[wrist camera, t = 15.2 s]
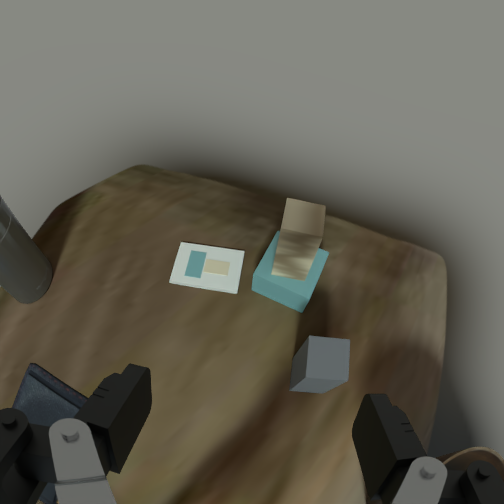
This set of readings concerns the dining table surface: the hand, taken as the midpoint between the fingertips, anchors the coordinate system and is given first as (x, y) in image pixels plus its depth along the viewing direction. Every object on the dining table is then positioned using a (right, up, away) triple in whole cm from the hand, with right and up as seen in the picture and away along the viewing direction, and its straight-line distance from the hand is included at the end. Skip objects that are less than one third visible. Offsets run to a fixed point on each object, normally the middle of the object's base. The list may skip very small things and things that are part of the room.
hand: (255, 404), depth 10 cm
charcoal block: (+7, -11, +28) cm, 31 cm away
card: (-7, +3, +36) cm, 37 cm away
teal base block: (+5, +1, +36) cm, 37 cm away
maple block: (+5, +4, +32) cm, 32 cm away
